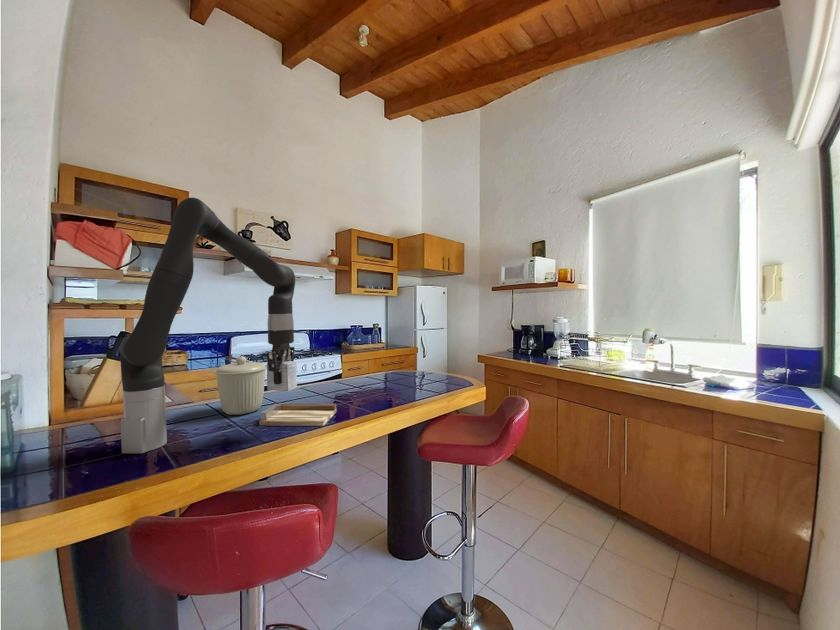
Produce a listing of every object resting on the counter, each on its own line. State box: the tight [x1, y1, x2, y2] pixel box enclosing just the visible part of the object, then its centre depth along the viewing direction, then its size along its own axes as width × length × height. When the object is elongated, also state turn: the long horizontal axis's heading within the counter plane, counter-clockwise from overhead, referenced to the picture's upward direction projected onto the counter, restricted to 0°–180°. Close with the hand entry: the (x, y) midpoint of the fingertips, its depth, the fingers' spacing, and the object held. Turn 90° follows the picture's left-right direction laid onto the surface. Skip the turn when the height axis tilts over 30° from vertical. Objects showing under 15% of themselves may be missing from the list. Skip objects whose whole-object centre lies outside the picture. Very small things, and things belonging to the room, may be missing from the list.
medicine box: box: [266, 361, 298, 392], centre depth 103 cm, size 8×4×9 cm, turn 74°
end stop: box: [260, 403, 282, 420], centre depth 116 cm, size 10×2×2 cm, turn 177°
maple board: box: [258, 408, 337, 427], centre depth 116 cm, size 14×22×2 cm, turn 87°
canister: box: [213, 356, 267, 416], centre depth 125 cm, size 18×18×21 cm
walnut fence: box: [280, 403, 337, 410], centre depth 122 cm, size 2×22×2 cm, turn 87°
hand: (282, 381), depth 103 cm, fingers closed on medicine box, 5 cm apart
